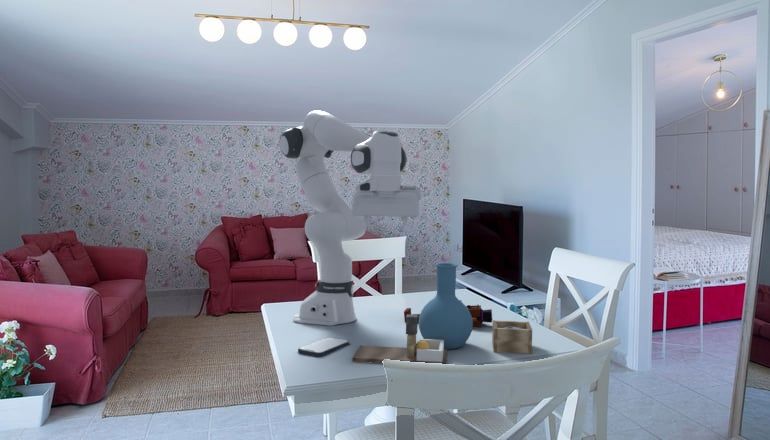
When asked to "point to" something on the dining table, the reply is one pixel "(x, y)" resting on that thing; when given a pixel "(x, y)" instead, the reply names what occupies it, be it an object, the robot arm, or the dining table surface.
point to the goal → (431, 351)
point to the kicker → (411, 334)
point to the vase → (446, 312)
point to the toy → (475, 311)
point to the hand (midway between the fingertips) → (386, 231)
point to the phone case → (323, 347)
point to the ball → (422, 345)
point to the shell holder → (512, 337)
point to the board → (387, 354)
